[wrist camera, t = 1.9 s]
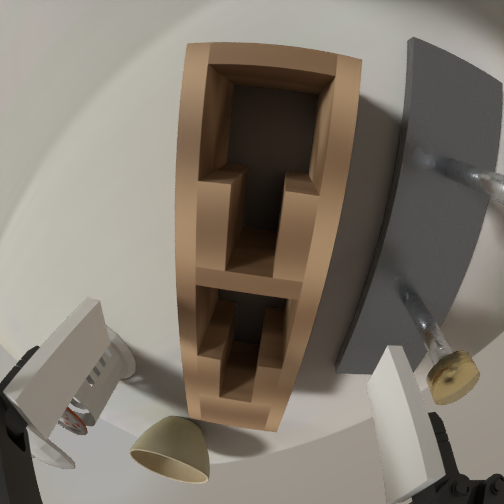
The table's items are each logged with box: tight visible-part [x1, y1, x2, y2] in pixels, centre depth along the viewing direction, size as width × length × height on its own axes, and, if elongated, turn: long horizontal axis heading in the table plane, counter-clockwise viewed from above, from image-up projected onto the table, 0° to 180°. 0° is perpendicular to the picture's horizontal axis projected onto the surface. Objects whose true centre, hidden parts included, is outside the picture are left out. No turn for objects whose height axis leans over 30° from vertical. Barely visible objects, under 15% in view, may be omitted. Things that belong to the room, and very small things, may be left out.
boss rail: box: [335, 37, 504, 405], centre depth 13 cm, size 26×8×10 cm, turn 174°
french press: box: [26, 317, 136, 469], centre depth 15 cm, size 10×12×25 cm
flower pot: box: [129, 416, 210, 484], centre depth 27 cm, size 10×10×7 cm
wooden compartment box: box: [175, 42, 362, 432], centre depth 16 cm, size 24×7×6 cm, turn 174°
